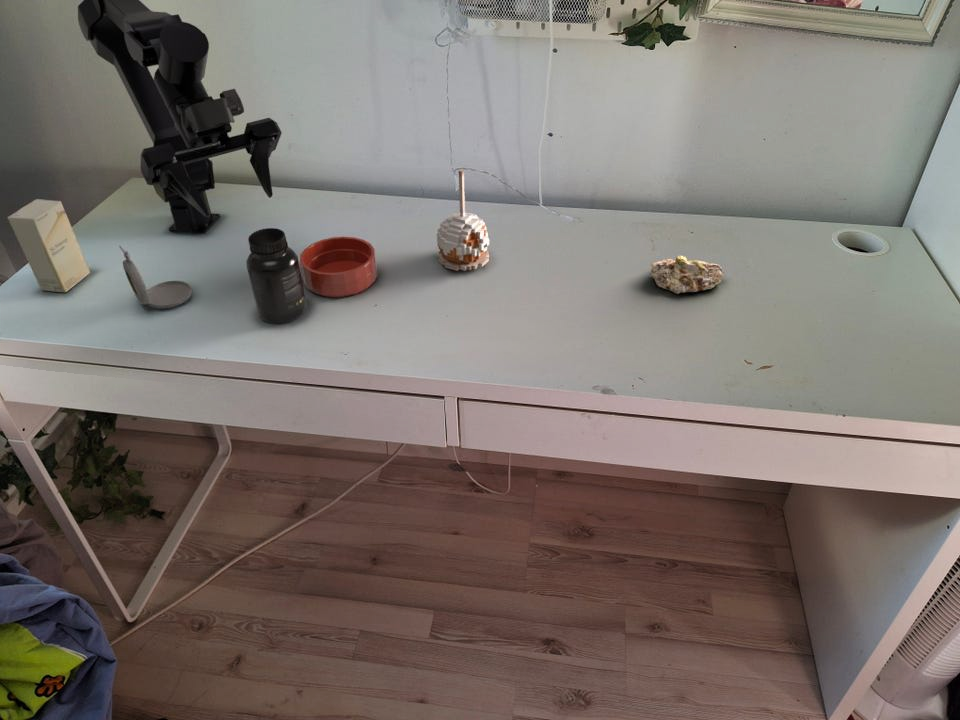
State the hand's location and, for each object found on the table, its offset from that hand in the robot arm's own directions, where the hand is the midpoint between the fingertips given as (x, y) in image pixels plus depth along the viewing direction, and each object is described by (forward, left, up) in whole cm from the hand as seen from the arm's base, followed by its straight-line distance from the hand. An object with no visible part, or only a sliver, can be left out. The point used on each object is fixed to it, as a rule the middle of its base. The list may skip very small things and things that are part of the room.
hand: (240, 205), depth 98 cm
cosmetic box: (+2, -30, -14) cm, 33 cm away
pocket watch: (+5, -13, -14) cm, 20 cm away
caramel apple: (-13, +29, -14) cm, 34 cm away
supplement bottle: (+5, +6, -14) cm, 16 cm away
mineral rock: (-12, +63, -14) cm, 65 cm away
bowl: (-5, +11, -14) cm, 18 cm away
